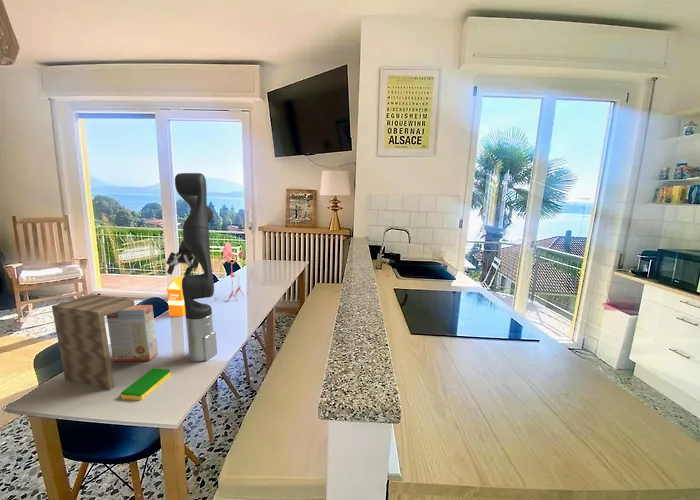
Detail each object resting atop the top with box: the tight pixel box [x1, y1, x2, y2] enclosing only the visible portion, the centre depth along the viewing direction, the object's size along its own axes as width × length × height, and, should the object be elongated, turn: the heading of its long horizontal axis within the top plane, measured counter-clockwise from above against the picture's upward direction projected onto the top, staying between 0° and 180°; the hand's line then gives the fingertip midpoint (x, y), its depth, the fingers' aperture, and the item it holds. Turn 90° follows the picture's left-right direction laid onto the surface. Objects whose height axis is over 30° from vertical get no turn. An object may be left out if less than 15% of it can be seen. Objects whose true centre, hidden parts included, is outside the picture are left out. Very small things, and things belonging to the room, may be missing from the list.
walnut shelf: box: [51, 293, 135, 391], centre depth 105 cm, size 20×12×27 cm, turn 76°
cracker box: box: [106, 304, 159, 362], centre depth 117 cm, size 14×6×21 cm, turn 92°
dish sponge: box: [120, 368, 172, 401], centre depth 101 cm, size 7×14×2 cm, turn 174°
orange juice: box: [166, 275, 185, 317], centre depth 161 cm, size 8×9×20 cm
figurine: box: [216, 241, 245, 302], centre depth 184 cm, size 15×26×35 cm, turn 175°
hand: (177, 275), depth 138 cm, fingers open, 8 cm apart
